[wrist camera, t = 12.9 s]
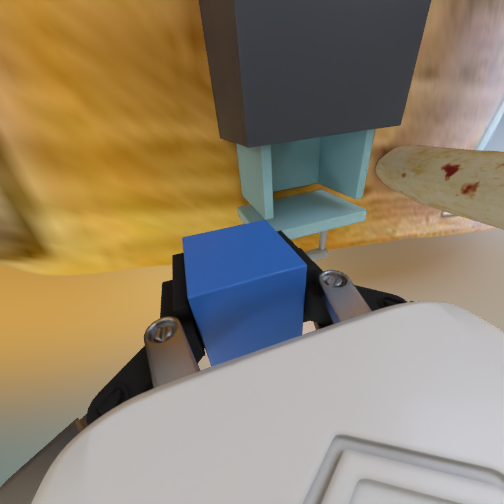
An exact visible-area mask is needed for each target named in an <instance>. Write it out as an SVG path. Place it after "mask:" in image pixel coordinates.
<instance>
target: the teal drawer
mask: <svg viewBox="0 0 504 504" xmlns="http://www.w3.org/2000/svg"><path fill="white" fill-rule="evenodd" d="M374 134H375V129H371V130H364V131H358V132H351V133H344V134H338V135H331V136H324V137H318V138H311V139H304V140H298V141H291V142H284V143H278V144H271V145H264V146H258V147H251V148H247V147H245V146H242V145H239V144H236V147H237V155H238V164H239V172H240V180H241V189H242V196H243V197H244V198H245V199H246V200H247V201H248V202H249V203H250V205H246V206H241V207H237V209H238V216H239V218H240V219H241V220H242V222H243V223H244V224H248V223H252V222H257V221H261V220H266V221H267V222H268V223H269V224H270V225H271V226H272V227H273V228H274V229H275V230H276V231H280V230H281V231H282V232H283V233H284V234H285V235H286V236H287V237H288V238H289V239H290V240H291V239H295V238H299V237H303V236H307V235H311V234H315V233H319V232H320V237H319V248H318V249H314V250H310V251H307V252H305V253H306V254H307V255H308V256H309V257H310V258H311V260H312V261H313V262H314V261H317V260H321V259H324V258H327V257H328V251H327V249H326V248H325V247H326V238H327V230H330V229H334V228H338V227H342V226H346V225H350V224H354V223H358V222H361V221H365V217H366V213H367V210H366V209H364V208H362V207H359V206H357V205H355V204H353V203H351V202H348V201H346V200H344V199H342V198H340V197H338V196H335V195H333V194H331V193H329V192H327V191H324V190H317V191H313V192H308V193H303V194H298V195H294V196H289V197H284V198H279V199H274V200H273V192H275V191H280V190H285V189H290V188H295V187H300V186H305V185H310V184H315V183H319V184H321V185H323V186H326V187H328V188H331V189H333V190H335V191H338V192H340V193H342V194H345V195H347V196H349V197H352V198H354V199H358V198H362V196H363V191H364V186H365V180H366V175H367V170H368V165H369V160H370V154H371V149H372V144H373V139H374Z"/></svg>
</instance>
